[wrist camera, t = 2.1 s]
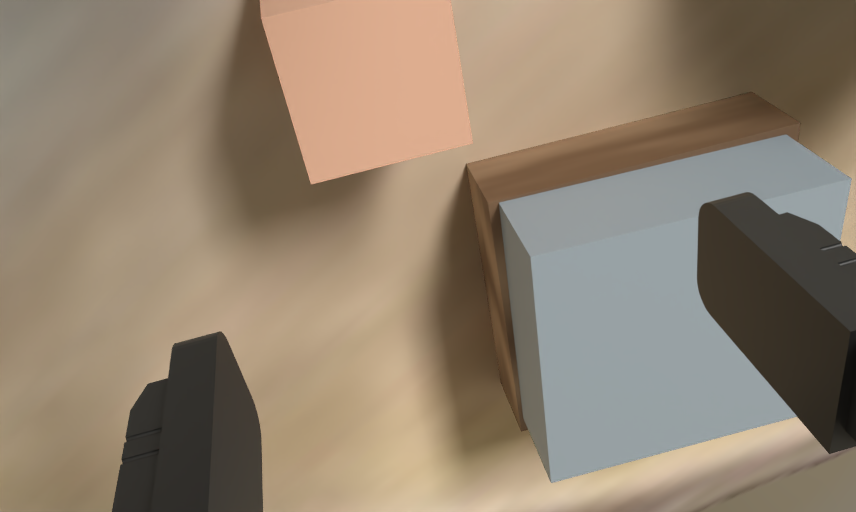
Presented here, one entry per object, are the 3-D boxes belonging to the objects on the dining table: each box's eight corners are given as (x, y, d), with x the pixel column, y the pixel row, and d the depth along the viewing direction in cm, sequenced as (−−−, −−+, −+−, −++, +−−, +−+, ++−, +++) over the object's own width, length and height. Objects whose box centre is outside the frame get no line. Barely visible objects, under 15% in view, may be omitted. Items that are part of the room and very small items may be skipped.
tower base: (463, 159, 33) (487, 203, 29) (746, 88, 34) (800, 122, 30) (498, 376, 40) (521, 431, 37) (729, 313, 41) (772, 361, 38)
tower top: (498, 202, 30) (530, 257, 26) (786, 134, 31) (851, 178, 27) (523, 418, 36) (551, 483, 33) (758, 356, 37) (808, 413, 34)
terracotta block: (256, -45, 26) (261, 18, 20) (396, -78, 27) (446, -26, 20) (295, 89, 29) (310, 184, 23) (421, 59, 30) (473, 142, 23)
